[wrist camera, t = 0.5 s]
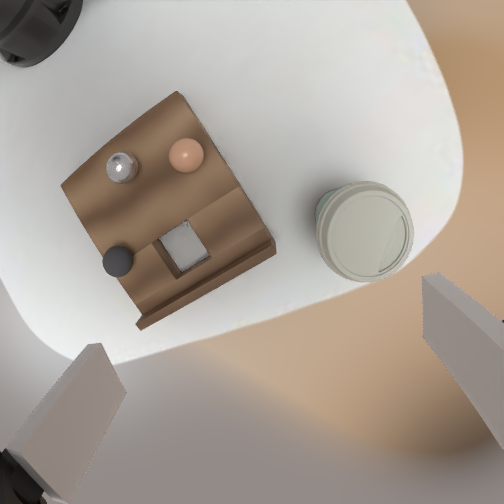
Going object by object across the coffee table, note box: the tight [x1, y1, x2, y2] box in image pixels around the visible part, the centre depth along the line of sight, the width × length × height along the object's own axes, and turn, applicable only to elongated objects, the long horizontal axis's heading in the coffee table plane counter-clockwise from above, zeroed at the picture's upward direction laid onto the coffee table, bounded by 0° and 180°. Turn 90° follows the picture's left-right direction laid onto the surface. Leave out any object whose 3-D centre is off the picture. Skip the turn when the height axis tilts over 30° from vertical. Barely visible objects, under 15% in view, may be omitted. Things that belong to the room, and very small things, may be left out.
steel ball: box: [106, 151, 138, 184], centre depth 31 cm, size 4×4×4 cm
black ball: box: [103, 246, 133, 277], centre depth 34 cm, size 4×4×4 cm
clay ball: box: [169, 138, 204, 173], centre depth 31 cm, size 4×4×4 cm
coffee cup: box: [315, 181, 414, 282], centre depth 30 cm, size 8×8×12 cm
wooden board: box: [60, 91, 277, 331], centre depth 34 cm, size 20×18×5 cm
